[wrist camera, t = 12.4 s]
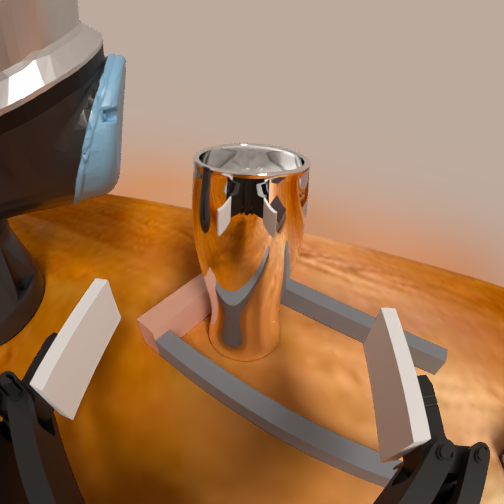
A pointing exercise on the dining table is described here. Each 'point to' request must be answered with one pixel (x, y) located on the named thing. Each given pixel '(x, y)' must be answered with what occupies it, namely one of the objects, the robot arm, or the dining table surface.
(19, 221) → the dining table surface
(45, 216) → the dining table surface
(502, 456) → the book
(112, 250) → the dining table surface
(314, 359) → the dining table surface
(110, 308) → the robot arm
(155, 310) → the guide channel
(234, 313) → the shiny metal tumbler
